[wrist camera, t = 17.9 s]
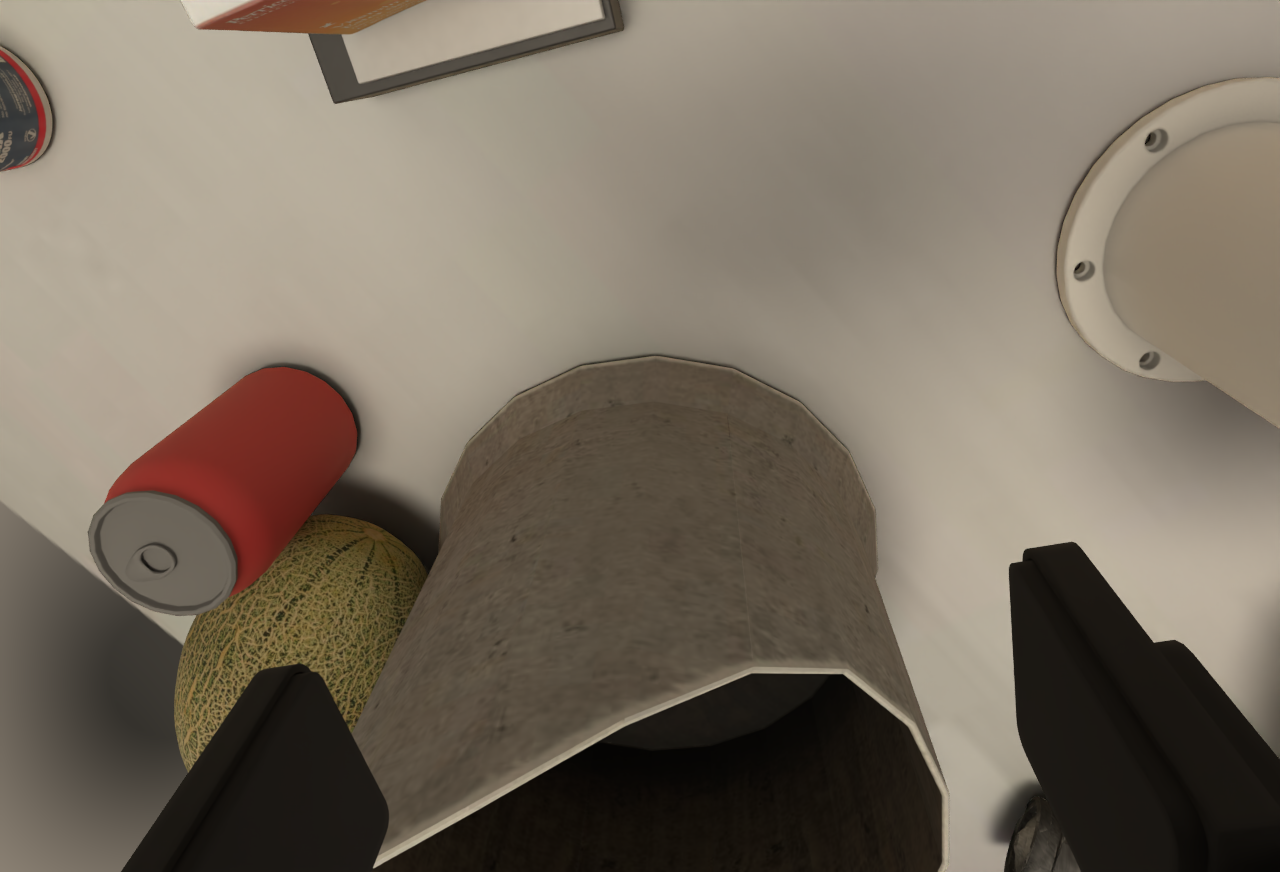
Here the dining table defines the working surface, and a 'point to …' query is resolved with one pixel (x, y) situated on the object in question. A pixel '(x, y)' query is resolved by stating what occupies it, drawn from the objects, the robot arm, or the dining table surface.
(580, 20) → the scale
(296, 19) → the small box
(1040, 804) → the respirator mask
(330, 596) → the fruit
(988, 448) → the dining table surface
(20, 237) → the dining table surface
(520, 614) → the grey fabric bucket
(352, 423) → the beer can
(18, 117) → the pill bottle
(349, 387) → the dining table surface
